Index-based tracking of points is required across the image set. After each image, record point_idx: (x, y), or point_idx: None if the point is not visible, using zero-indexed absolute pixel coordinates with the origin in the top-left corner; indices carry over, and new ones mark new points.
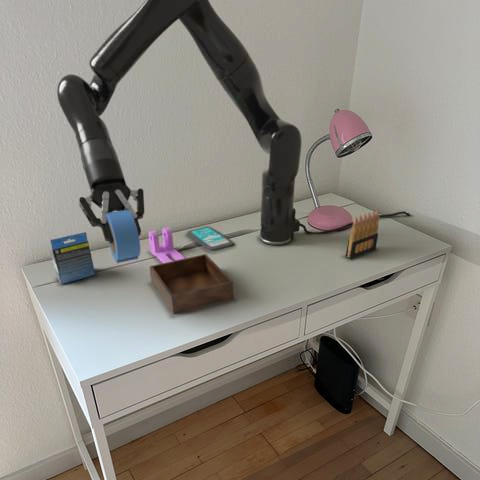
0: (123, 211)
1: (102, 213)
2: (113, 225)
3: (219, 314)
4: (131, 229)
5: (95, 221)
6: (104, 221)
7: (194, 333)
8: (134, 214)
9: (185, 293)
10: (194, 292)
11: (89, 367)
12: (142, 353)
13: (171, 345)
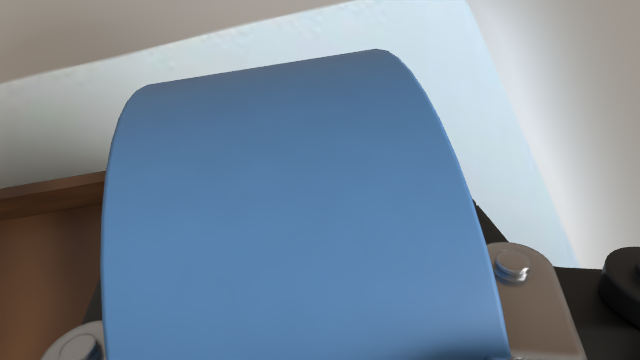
0: (214, 343)
1: (569, 356)
2: (389, 70)
3: (26, 149)
4: (200, 77)
5: (621, 253)
6: (501, 253)
7: (139, 74)
8: (68, 358)
9: (90, 174)
10: (53, 181)
11: (442, 13)
12: (303, 29)
13: (219, 40)
